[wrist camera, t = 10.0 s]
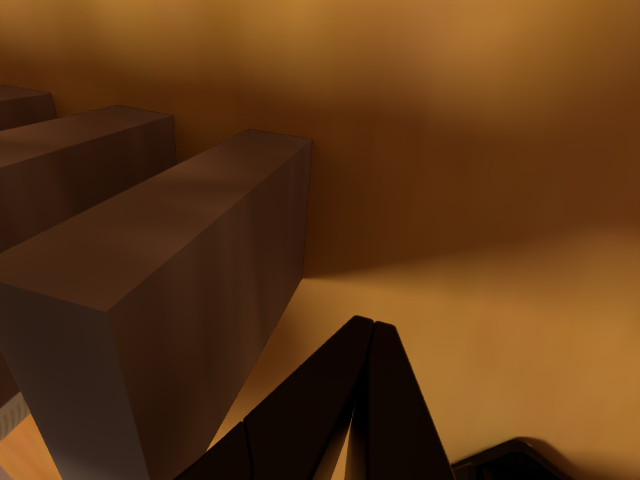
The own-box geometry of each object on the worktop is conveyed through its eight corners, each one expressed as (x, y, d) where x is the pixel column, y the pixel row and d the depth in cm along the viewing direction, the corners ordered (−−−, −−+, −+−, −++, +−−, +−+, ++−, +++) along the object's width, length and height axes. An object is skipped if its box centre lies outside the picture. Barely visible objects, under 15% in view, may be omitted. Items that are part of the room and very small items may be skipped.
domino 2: (312, 139, 11) (105, 312, 4) (301, 278, 13) (162, 529, 7) (248, 128, 11) (-37, 271, 4) (249, 266, 14) (68, 491, 7)
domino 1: (172, 115, 12) (-191, 225, 5) (185, 249, 14) (-44, 445, 7) (117, 105, 12) (-292, 195, 5) (139, 238, 15) (-120, 415, 8)
